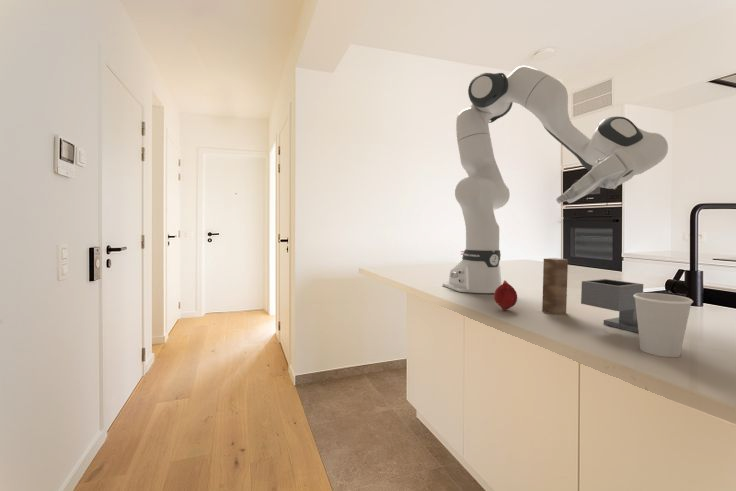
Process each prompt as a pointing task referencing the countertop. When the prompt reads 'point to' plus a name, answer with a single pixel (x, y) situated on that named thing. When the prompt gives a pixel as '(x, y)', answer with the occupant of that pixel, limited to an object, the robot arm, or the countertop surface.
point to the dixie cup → (662, 322)
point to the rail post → (555, 285)
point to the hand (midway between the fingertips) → (565, 194)
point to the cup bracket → (613, 300)
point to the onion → (505, 296)
